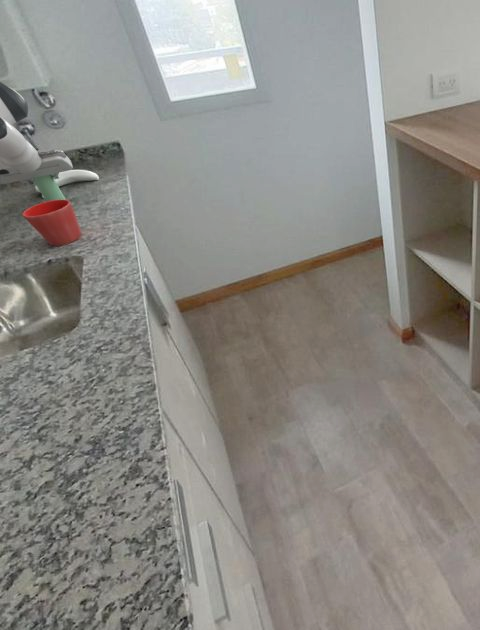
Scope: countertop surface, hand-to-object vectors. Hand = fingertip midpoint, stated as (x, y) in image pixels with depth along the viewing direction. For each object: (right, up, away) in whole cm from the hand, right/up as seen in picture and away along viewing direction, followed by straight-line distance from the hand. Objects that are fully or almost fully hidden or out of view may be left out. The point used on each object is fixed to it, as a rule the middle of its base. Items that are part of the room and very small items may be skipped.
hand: (43, 179), depth 144 cm
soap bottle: (+1, -7, +4) cm, 8 cm away
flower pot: (+23, -23, -19) cm, 38 cm away
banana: (-4, +2, +16) cm, 17 cm away
